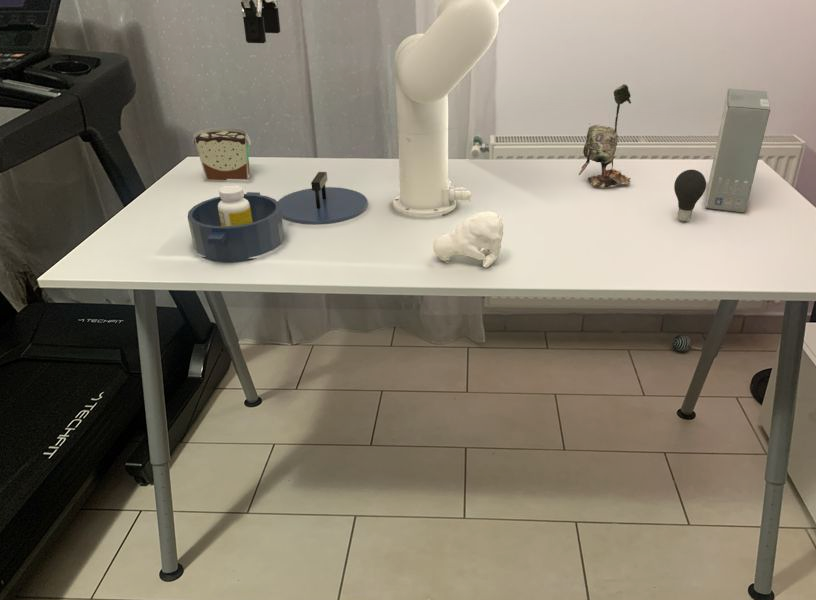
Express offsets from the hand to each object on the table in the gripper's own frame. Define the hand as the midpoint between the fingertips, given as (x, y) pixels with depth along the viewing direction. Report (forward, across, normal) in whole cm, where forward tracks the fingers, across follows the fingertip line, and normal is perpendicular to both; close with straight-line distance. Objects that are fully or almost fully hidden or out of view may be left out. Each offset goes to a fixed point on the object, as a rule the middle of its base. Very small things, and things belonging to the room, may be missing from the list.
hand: (264, 37), depth 123 cm
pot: (+32, -14, +4) cm, 35 cm away
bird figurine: (+31, +19, -65) cm, 74 cm away
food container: (+32, +20, +16) cm, 41 cm away
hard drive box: (+30, +12, -88) cm, 94 cm away
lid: (+31, +2, -7) cm, 32 cm away
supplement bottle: (+32, -14, +4) cm, 35 cm away
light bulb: (+30, -1, -77) cm, 83 cm away
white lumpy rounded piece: (+31, -20, -36) cm, 52 cm away
